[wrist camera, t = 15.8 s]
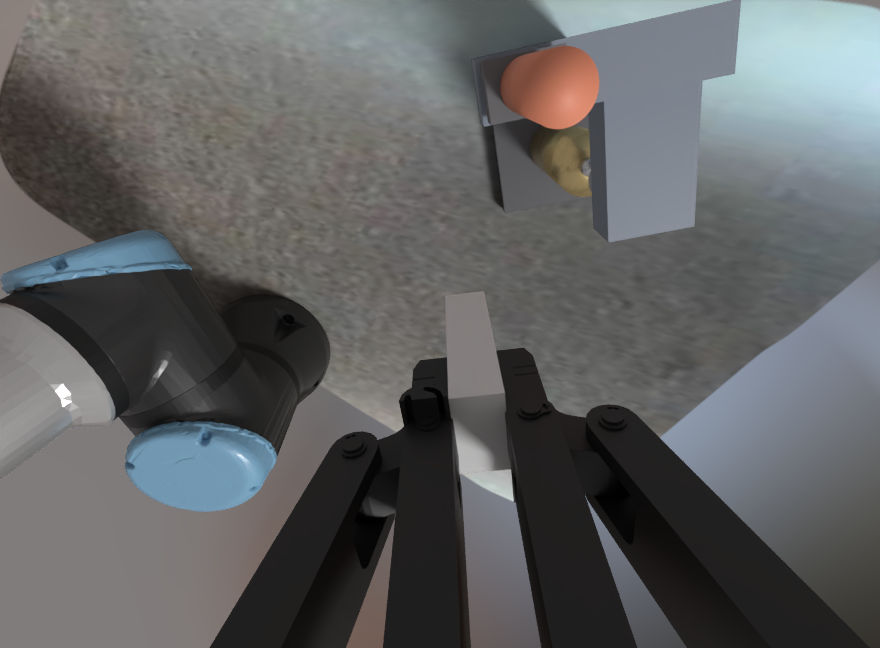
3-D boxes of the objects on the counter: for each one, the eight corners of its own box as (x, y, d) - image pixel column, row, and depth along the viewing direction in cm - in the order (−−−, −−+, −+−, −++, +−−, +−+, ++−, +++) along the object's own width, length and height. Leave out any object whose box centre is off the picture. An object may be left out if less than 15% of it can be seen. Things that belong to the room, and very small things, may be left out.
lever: (487, 122, 23) (511, 142, 16) (479, 62, 22) (500, 56, 15) (562, 106, 23) (619, 120, 16) (557, 44, 21) (617, 30, 14)
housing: (532, 175, 50) (562, 206, 38) (527, 126, 48) (557, 142, 36) (580, 165, 50) (624, 193, 38) (576, 115, 47) (622, 127, 36)
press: (477, 214, 54) (513, 334, 29) (453, 67, 47) (474, 58, 22) (610, 188, 52) (768, 290, 28) (606, 33, 45) (811, -18, 21)
